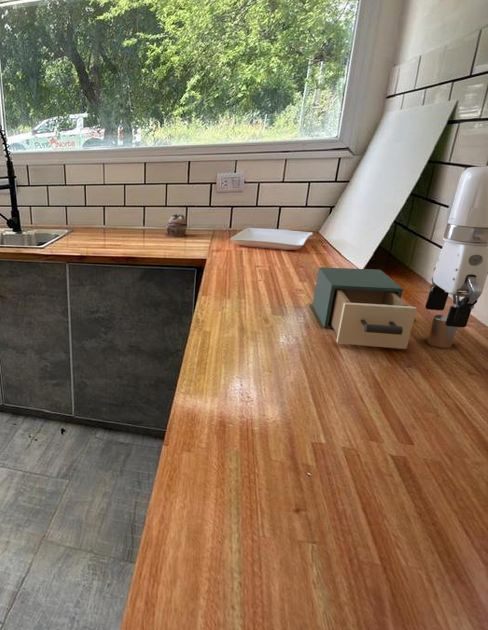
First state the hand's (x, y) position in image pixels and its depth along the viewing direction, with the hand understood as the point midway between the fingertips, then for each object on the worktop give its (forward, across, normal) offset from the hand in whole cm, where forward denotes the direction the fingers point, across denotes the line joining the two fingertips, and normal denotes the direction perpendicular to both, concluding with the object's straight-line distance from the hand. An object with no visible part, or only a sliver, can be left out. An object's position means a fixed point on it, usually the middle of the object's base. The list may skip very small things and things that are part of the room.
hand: (444, 317), depth 92 cm
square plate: (+6, +97, +23) cm, 100 cm away
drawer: (+6, -1, +13) cm, 15 cm away
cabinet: (+6, +12, +13) cm, 19 cm away
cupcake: (+7, +109, +63) cm, 126 cm away
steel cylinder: (+6, 0, -1) cm, 6 cm away
